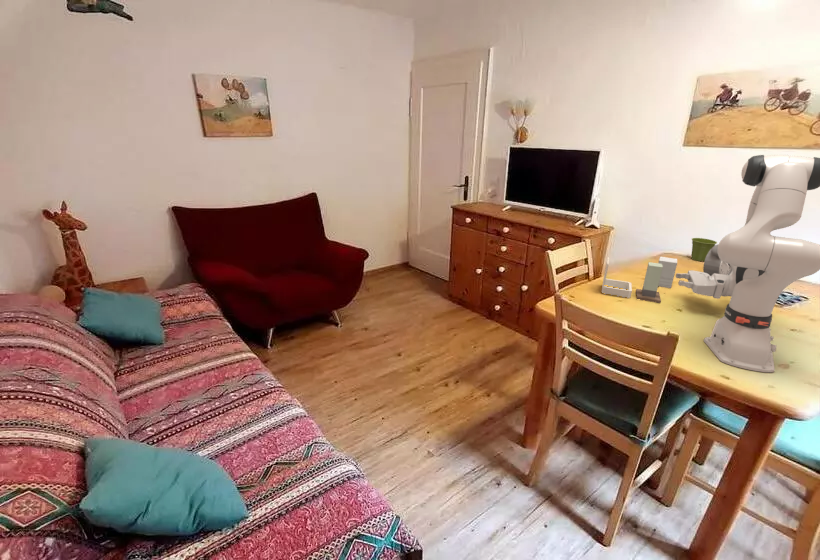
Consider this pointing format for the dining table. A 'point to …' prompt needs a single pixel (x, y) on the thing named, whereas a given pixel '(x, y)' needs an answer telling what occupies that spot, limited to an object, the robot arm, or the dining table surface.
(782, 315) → the dining table surface
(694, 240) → the plant pot
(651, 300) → the walnut board
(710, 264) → the alarm clock
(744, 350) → the robot arm
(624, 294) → the white backed tray
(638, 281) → the dining table surface
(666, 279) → the supplement box
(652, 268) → the sage box
